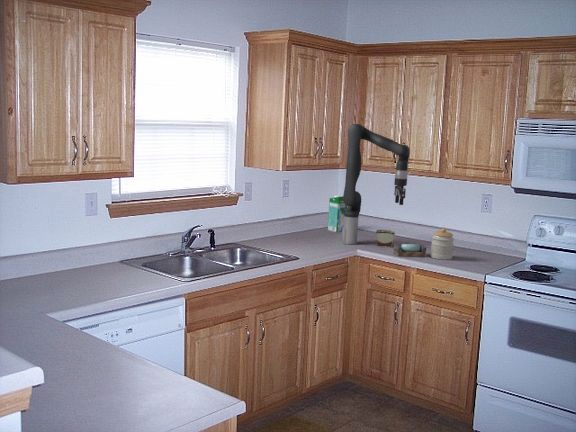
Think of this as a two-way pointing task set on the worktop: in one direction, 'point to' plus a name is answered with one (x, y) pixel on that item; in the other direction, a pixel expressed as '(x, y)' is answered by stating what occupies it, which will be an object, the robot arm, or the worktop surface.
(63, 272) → the worktop surface
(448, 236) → the jar
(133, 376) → the worktop surface
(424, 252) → the holder
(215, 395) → the worktop surface
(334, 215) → the milk carton
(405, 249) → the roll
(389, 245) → the food container
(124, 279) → the worktop surface
